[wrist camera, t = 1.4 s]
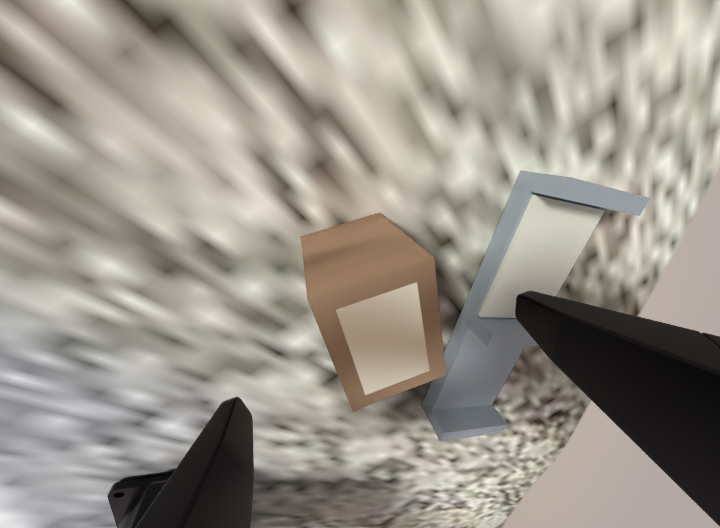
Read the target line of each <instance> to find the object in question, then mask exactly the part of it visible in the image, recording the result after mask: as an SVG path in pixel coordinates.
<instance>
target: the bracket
mask: <svg viewBox="0 0 720 528" xmlns="http://www.w3.org/2000/svg"><path fill="white" fill-rule="evenodd" d="M649 200H650V198H648V197H644V196H640V195H636V194H632V193H628V192H624V191H621V190H617V189H613V188H609V187H605V186H601V185H598V184H594V183H590V182H586V181H582V180H578V179H575V178H570V177H563V176H555V175H548V174H541V173H533V172H526V171H520V174H519V176H518V178H517V181H516V183H515V186H514V188H513V190H512V193H511V195H510V197H509V200H508V202H507V205H506V207H505V209H504V212H503V214H502V216H501V219H500V221H499V224H498V226H497V228H496V231H495V233H494V235H493V238H492V240H491V242H490V245H489V247H488V250H487V252H486V254H485V257H484V259H483V261H482V264H481V266H480V269H479V271H478V273H477V276H476V278H475V280H474V283H473V285H472V288H471V290H470V292H469V295H468V297H467V299H466V302H465V304H464V307H463V309H462V311H461V314H460V316H459V318H458V321H457V323H456V325H455V328H454V330H453V333H452V335H451V337H450V340H449V342H448V344H447V347H446V349H445V352H444V362H445V372H446V375H445V376H443V377H440V378H438V379H435V380H432V382H431V385H430V387H429V390H428V392H427V394H426V397H425V399H424V401H423V404H422V407H423V409H424V411H425V413H426V415H427V417H428V419H429V421H430V423H431V425H432V427H433V429H434V431H435V433H436V435H437V437H438V439H439V441H446V440H453V439H460V438H467V437H474V436H481V435H488V434H495V433H502V432H503V431H504V429H505V428H506V426H507V423H506V422H505V421H504V419H503V418H502V417H501V416H500V414H499V413H498V412H497V410H496V409H495V408H494V406H493V405H492V404H493V402H494V400H495V399H496V397H497V395H498V393H499V392H500V390H501V388H502V386H503V385H504V383H505V381H506V379H507V378H508V376H509V374H510V372H511V371H512V369H513V367H514V365H515V364H516V362H517V360H518V358H519V357H520V355H521V353H522V351H523V350H524V348H525V346H539V345H538V344H537V343H536V342H535V341H534V339H533V338H532V337H531V336H530V335H529V334H528V332H527V331H526V330H525V329H524V328H523V326H522V325H521V324H520V323H519V322H518V320H517V319H516V316H515V306H516V297H517V295H518V294H520V293H523V292H526V291H535V292H539V293H543V294H547V295H551V296H556V295H557V293H558V291H559V290H560V288H561V286H562V284H563V283H564V281H565V279H566V277H567V276H568V274H569V272H570V270H571V269H572V267H573V265H574V263H575V262H576V260H577V258H578V256H579V255H580V253H581V251H582V250H583V248H584V246H585V244H586V243H587V241H588V239H589V237H590V236H591V234H592V232H593V230H594V229H595V227H596V225H597V223H598V222H599V220H600V218H601V216H602V215H603V213H604V211H605V210H604V208H606V209H611V210H615V211H620V212H624V213H629V214H634V215H638V216H640V214H641V213H642V211H643V210H644V208H645V206H646V205H647V203H648V202H649Z"/></svg>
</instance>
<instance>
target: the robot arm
mask: <svg viewBox="0 0 720 528" xmlns="http://www.w3.org/2000/svg"><path fill="white" fill-rule="evenodd" d="M515 316H516V319H517V320H518V322H519V323H520V324H521V325H522V326H523V328H524V329H525V330H526V331H527V332H528V334H529V335H530V336H531V337H532V338H533V339H534V341H535V342H536V343H537V344H538V345H539V347H540V348H541V349H542V350H543V351H544V352H545V354H546V355H547V356H548V357H549V358H550V359H551V360H552V361H553V362H554V363H555V364H556V365H557V366H558V367H559V368H560V369H561V370H562V371H563V372H564V373H565V374H566V375H567V376H568V377H569V378H570V379H571V380H572V381H573V382H574V383H575V384H576V385H577V386H578V387H579V388H580V389H581V390H582V391H583V392H584V393H585V394H586V395H587V396H588V397H589V398H590V399H591V400H592V401H593V402H594V403H595V404H596V405H597V406H598V407H599V408H600V409H601V410H602V411H603V412H604V413H605V414H607V416H608V417H609V418H610V419H611V420H612V421H613V422H614V423H615V424H616V425H617V426H618V427H619V428H620V429H621V430H622V431H624V433H625V434H626V435H628V436H629V437H630V438H631V439H632V440H633V441H634V442H635V443H636V444H637V445H638V446H639V447H640V448H641V449H642V450H643V451H644V452H645V453H646V454H647V455H648V456H649V457H650V458H651V459H652V460H653V461H654V462H655V463H656V464H657V465H658V466H659V467H660V468H661V469H662V470H663V471H664V472H665V473H666V474H667V475H668V476H669V477H670V478H671V479H672V480H673V481H674V482H675V483H676V484H677V485H678V486H679V487H680V488H681V489H682V490H683V491H684V492H685V493H686V494H687V495H688V496H689V497H690V498H691V499H692V500H693V501H695V502H696V503H697V504H698V506H700V508H702V510H703V511H705V512H706V513H707V514H708V515H709V516H710V517H711V518H712V519H713V520H714V521H715V522H716V523H717V524H718V525H719V526H720V337H719V336H715V335H711V334H707V333H700V332H698V331H695V330H690V329H686V328H682V327H678V326H674V325H670V324H666V323H662V322H658V321H653V320H650V319H645V318H641V317H637V316H633V315H629V314H625V313H621V312H617V311H613V310H609V309H605V308H600V307H596V306H592V305H588V304H584V303H580V302H576V301H572V300H568V299H564V298H560V297H555V296H551V295H547V294H543V293H539V292H535V291H526V292H523V293H520V294H518V295H517V297H516V306H515ZM253 482H254V462H253V420H252V415H251V413H250V411H249V410H248V408H247V407H246V406H245V404H244V403H243V401H242V400H241V399H240V398H239V397H234V398H232V399H229V400H226V401H224V402H223V403H222V404H221V405H220V406H219V407H218V409H217V410H216V412H215V413H214V415H213V416H212V418H211V419H210V420H209V422H208V423H207V425H206V426H205V428H204V429H203V431H202V432H201V433H200V435H199V436H198V438H197V439H196V441H195V442H194V444H193V445H192V446H191V448H190V449H189V451H188V452H187V454H186V455H185V457H184V458H183V459H182V461H181V462H180V464H179V465H178V467H177V468H176V470H175V471H174V472H173V474H171V475H163V476H156V477H149V478H142V479H134V480H127V481H121V482H117V483H115V484H114V485H113V486H112V487H111V489H110V491H109V493H108V500H109V503H110V506H111V509H112V512H113V515H114V519H115V522H116V525H117V528H250V523H251V511H252V498H253Z"/></svg>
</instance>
